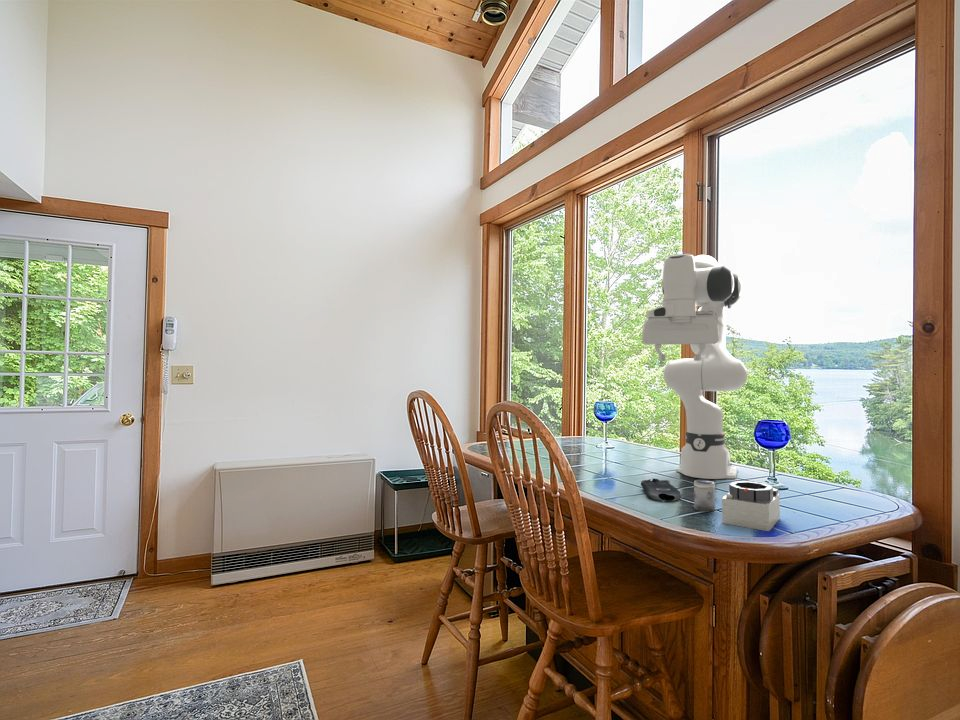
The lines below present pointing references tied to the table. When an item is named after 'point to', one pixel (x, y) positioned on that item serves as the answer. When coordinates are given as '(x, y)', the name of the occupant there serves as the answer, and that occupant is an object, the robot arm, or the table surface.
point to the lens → (704, 495)
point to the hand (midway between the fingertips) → (679, 360)
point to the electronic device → (660, 489)
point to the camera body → (751, 505)
